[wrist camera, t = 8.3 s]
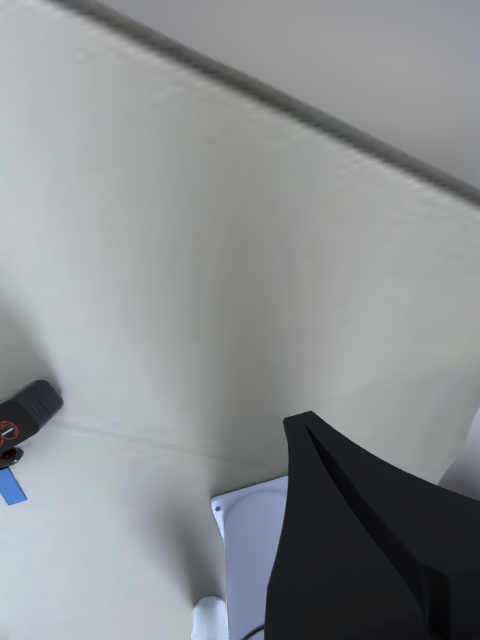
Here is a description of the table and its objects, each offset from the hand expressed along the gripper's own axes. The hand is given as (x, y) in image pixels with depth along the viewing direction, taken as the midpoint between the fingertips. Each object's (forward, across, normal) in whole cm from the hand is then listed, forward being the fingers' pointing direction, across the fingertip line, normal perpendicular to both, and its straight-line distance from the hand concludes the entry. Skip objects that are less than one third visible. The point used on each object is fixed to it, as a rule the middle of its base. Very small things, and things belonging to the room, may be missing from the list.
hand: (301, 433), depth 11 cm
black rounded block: (+10, +19, 0) cm, 21 cm away
